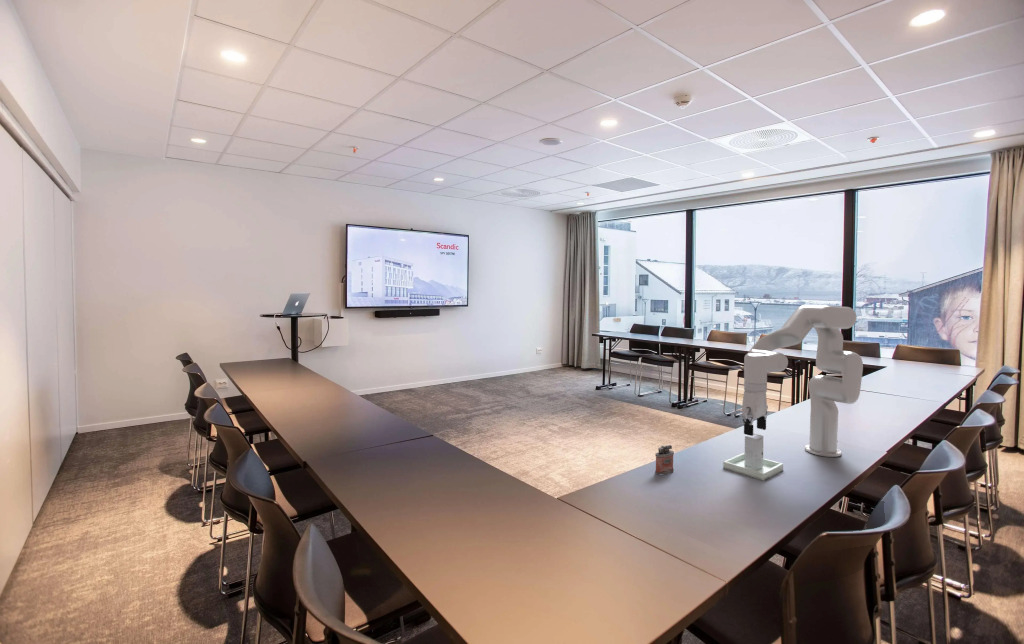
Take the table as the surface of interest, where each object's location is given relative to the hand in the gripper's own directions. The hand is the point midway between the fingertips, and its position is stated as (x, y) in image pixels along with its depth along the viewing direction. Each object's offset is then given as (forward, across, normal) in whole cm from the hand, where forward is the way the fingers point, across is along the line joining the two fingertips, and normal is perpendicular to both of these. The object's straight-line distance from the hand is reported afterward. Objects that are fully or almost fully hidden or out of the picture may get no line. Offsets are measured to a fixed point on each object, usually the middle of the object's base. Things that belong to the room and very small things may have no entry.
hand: (755, 431), depth 178 cm
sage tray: (+14, +1, 0) cm, 14 cm away
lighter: (+14, +29, -19) cm, 37 cm away
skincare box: (+14, +1, 0) cm, 14 cm away
